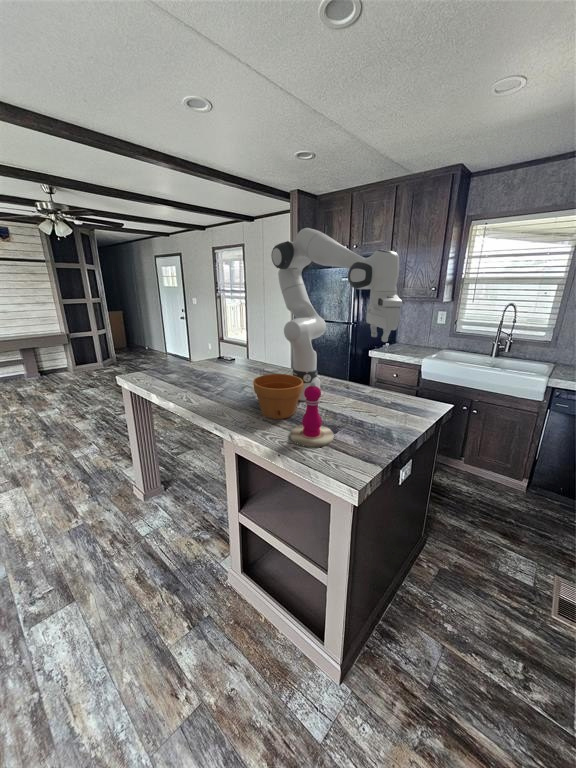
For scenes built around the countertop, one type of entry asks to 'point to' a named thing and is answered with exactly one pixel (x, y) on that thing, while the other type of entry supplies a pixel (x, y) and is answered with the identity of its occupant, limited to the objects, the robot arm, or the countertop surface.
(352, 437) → the countertop surface
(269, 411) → the flower pot
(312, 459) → the countertop surface
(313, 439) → the disc
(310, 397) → the pepper mill
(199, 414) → the countertop surface
